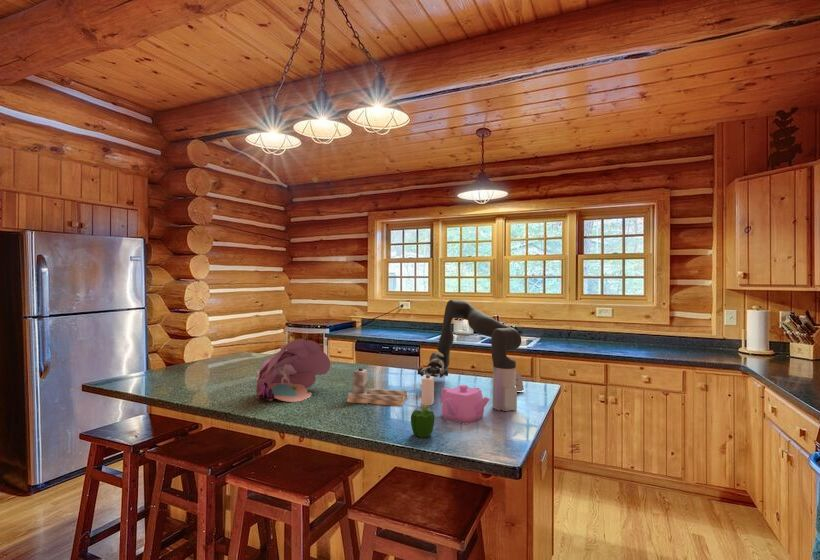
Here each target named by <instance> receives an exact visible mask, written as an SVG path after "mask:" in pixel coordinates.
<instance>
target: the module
mask: <svg viewBox="0 0 820 560" xmlns="http://www.w3.org/2000/svg"><path fill="white" fill-rule="evenodd" d="M434 393H435V377H434V376H430V375H423V376H422V378H421V406H425V405H432V404H434V402H435V398H434V397H435V396H434V395H435V394H434ZM432 406H433V405H432Z"/></svg>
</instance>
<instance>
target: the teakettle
mask: <svg viewBox="0 0 820 560" xmlns="http://www.w3.org/2000/svg"><path fill="white" fill-rule="evenodd" d="M488 402H490V398H489V397H487V396H485V397H483V393H482V390H481V389H480V388H479V387H476V386H473V387H468V385H467V384H460V385H458V386H455V387H452V388H448V387H444V388H441V396H440V403H442V405H441V407H442V408H441V414H442V419H445V420H446V421H447V420H448V421H451V422H454V421H455V423H458V422H459V423H460V424H463V423H464V424H463V425H467V423H468V424H472V423H474V422H476V421H478V420H480V419H481V418H483V417H484V414H485V413H484V412H485V407H486V406H487V404H488ZM473 421H474V422H473Z"/></svg>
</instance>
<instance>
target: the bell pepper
mask: <svg viewBox="0 0 820 560" xmlns="http://www.w3.org/2000/svg"><path fill="white" fill-rule="evenodd" d="M430 407H431V406H429V405H423V406H422V410H421V411H420V410H418V409H414V410H413V411H412V412H411V414H410V425H411V430H412V433H413V435H414V436H416V437H420V438H428V437H430V436H431V435H432V433H433V430H434V425H435V413H434V411H433V410H432V411H430V410H428V409H429V408H430Z"/></svg>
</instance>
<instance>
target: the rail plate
mask: <svg viewBox="0 0 820 560" xmlns="http://www.w3.org/2000/svg"><path fill="white" fill-rule="evenodd" d="M368 372H369V370H368V369H364V368H363V367H359V368H357V369H356V370H354V371H353V392H348V394H347V395H348V396H347V397H348V398H347V399H346V402H347V403H358V404H368V403H370V404H369V405H371V404H373V405H386V406H400V407H403V405H404V403H406V401H407V399H408V390H398V389H397V390H396V389H381V388H368Z"/></svg>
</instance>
